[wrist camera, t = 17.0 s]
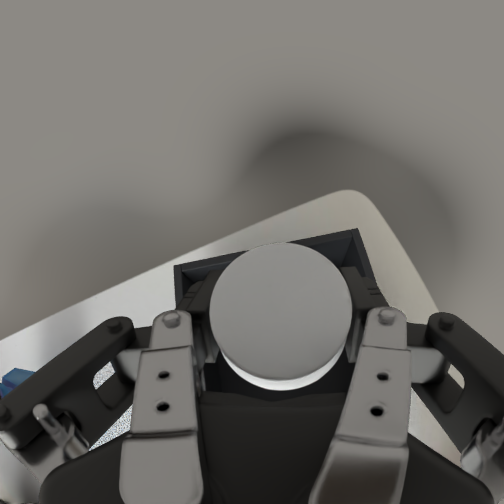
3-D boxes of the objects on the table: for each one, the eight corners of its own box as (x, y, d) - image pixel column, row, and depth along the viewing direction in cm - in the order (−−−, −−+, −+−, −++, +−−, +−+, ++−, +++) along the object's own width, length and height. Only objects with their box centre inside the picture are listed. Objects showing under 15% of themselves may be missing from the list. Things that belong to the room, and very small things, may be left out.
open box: (224, 434, 21) (195, 457, 14) (205, 297, 27) (173, 265, 19) (372, 405, 20) (407, 415, 13) (340, 270, 26) (357, 227, 19)
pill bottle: (273, 402, 14) (252, 429, 6) (226, 333, 16) (166, 287, 8) (344, 351, 14) (398, 321, 7) (295, 287, 16) (296, 202, 9)
